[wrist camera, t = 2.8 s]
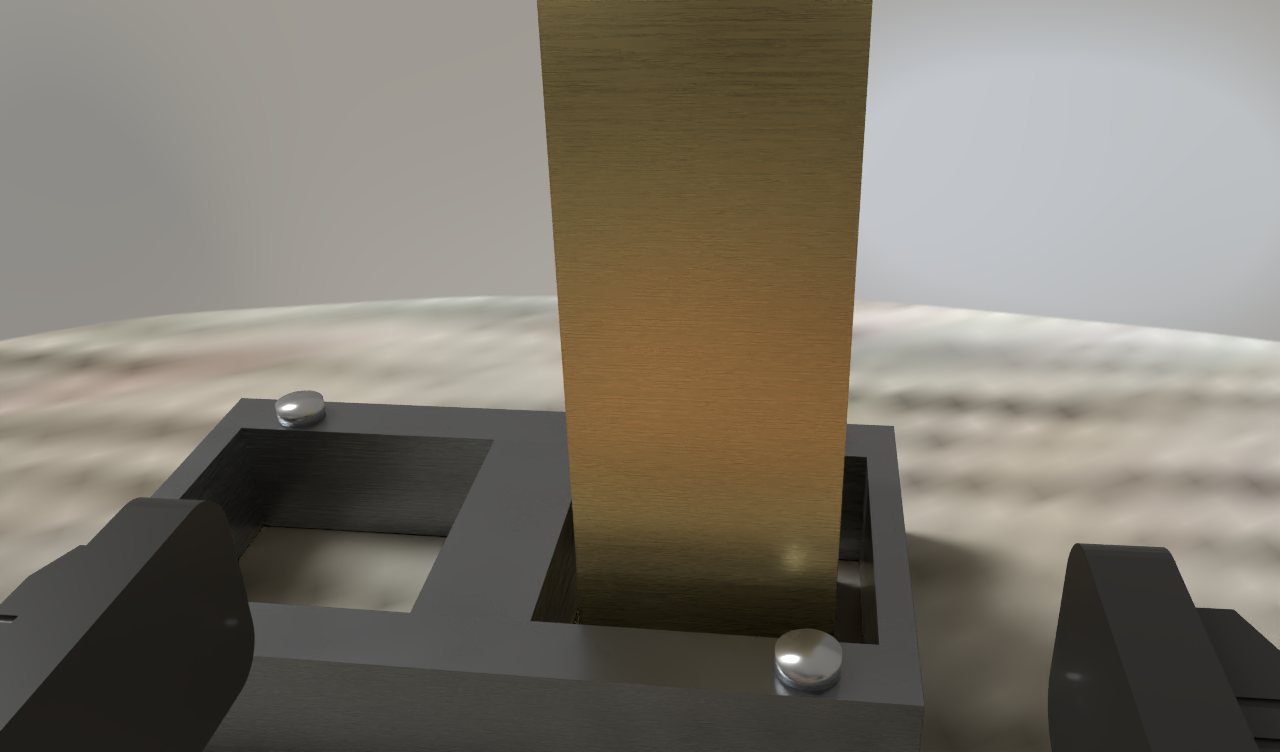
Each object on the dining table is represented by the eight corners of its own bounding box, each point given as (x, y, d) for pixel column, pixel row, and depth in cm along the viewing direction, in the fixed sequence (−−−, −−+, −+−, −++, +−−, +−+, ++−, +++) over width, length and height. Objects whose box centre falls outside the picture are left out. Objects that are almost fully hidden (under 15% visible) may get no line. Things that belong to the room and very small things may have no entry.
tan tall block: (587, 712, 24) (522, -206, 16) (622, 566, 28) (586, -213, 20) (827, 730, 23) (885, -219, 15) (826, 579, 28) (871, -222, 20)
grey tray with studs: (62, 752, 24) (15, 621, 22) (262, 492, 32) (238, 385, 30) (910, 828, 21) (926, 688, 20) (885, 526, 30) (894, 412, 28)
